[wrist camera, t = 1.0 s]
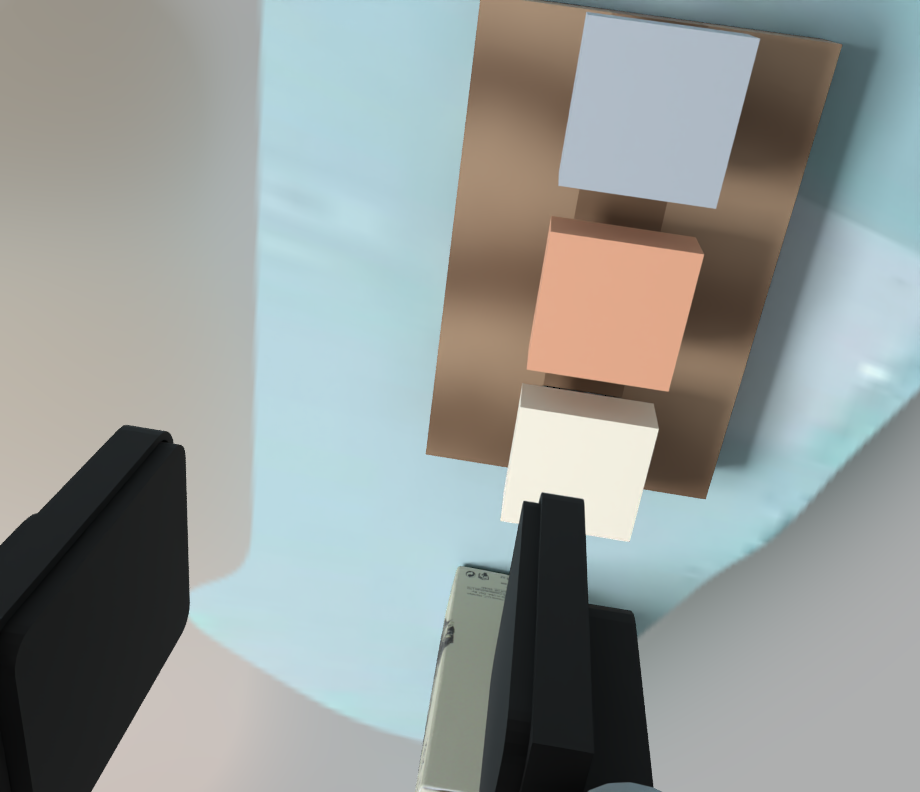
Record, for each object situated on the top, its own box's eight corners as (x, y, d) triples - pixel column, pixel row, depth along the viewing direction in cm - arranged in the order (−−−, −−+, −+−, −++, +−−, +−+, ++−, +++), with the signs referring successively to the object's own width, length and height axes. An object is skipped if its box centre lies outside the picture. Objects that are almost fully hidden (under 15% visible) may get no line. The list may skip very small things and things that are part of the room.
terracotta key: (552, 198, 32) (550, 231, 28) (686, 218, 32) (704, 254, 28) (530, 322, 34) (526, 369, 30) (656, 341, 34) (668, 391, 30)
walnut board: (486, -8, 31) (480, -6, 29) (822, 38, 30) (842, 44, 28) (433, 426, 39) (425, 454, 37) (697, 468, 39) (705, 499, 36)
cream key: (525, 356, 35) (520, 406, 31) (647, 375, 35) (659, 429, 31) (507, 461, 37) (500, 520, 33) (622, 479, 37) (629, 541, 33)
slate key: (584, 8, 29) (588, 15, 25) (733, 28, 29) (760, 38, 25) (559, 158, 31) (558, 185, 27) (696, 177, 31) (715, 208, 27)
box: (457, 560, 42) (417, 779, 31) (544, 578, 42) (537, 806, 31) (439, 640, 45) (396, 871, 33) (522, 657, 45) (507, 896, 33)
